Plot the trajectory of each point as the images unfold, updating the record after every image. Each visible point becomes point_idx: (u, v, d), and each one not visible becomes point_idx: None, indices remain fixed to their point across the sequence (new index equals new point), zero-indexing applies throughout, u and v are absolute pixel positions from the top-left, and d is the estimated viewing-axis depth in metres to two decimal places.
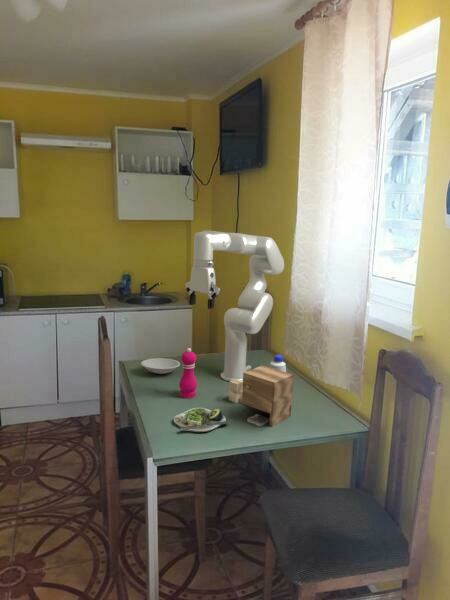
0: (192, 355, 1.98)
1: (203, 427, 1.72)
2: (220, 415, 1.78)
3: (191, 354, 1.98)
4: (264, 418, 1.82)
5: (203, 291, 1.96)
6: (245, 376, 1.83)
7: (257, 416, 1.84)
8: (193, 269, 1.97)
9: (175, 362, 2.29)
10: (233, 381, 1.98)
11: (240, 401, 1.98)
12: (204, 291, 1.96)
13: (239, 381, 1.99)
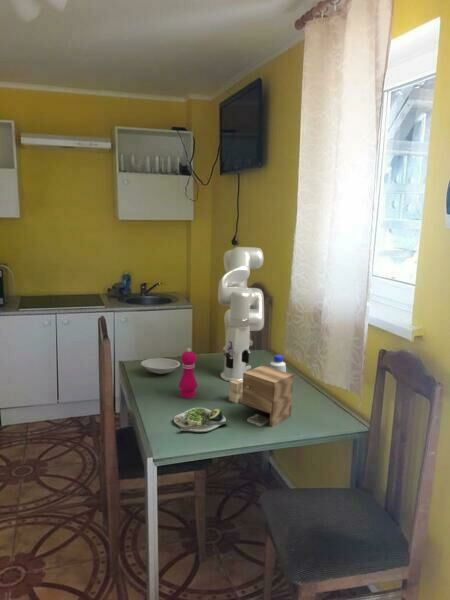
0: (192, 355, 1.98)
1: (203, 427, 1.72)
2: (220, 415, 1.78)
3: (191, 354, 1.98)
4: (264, 418, 1.82)
5: (246, 348, 1.96)
6: (245, 376, 1.83)
7: (257, 416, 1.84)
8: (238, 330, 1.90)
9: (175, 362, 2.29)
10: (233, 381, 1.98)
11: (240, 401, 1.98)
12: (247, 348, 1.96)
13: (239, 381, 1.99)
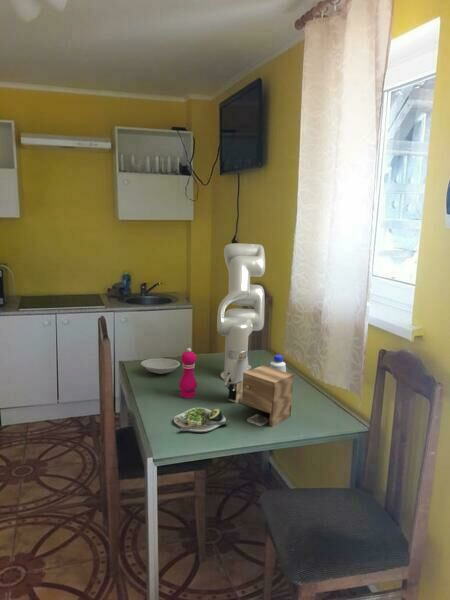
0: (192, 355, 1.98)
1: (203, 427, 1.72)
2: (220, 415, 1.78)
3: (191, 354, 1.98)
4: (264, 418, 1.82)
5: None
6: (245, 376, 1.83)
7: (257, 416, 1.84)
8: (237, 362, 1.93)
9: (175, 362, 2.29)
10: None
11: (240, 401, 1.98)
12: None
13: None
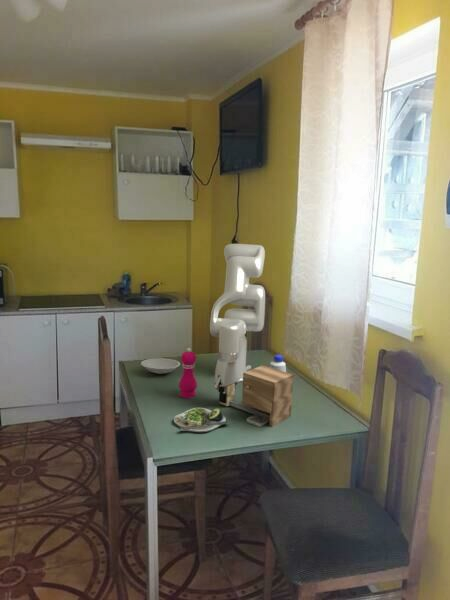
0: (192, 355, 1.98)
1: (203, 427, 1.72)
2: (220, 415, 1.78)
3: (191, 354, 1.98)
4: (264, 418, 1.82)
5: (235, 381, 1.94)
6: (245, 376, 1.83)
7: (257, 416, 1.84)
8: (227, 364, 1.89)
9: (175, 362, 2.29)
10: None
11: (231, 404, 1.93)
12: (236, 380, 1.95)
13: None
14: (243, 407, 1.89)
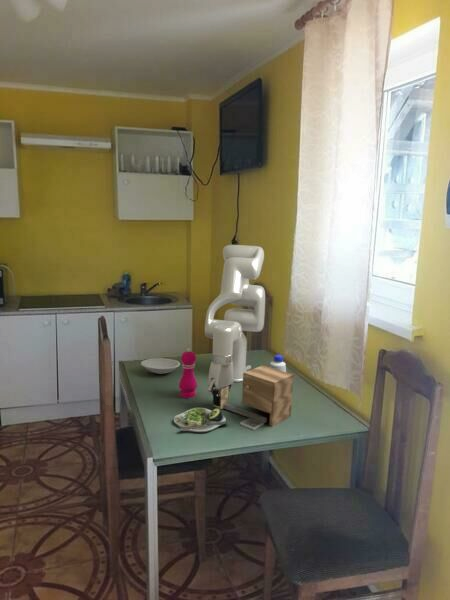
0: (192, 355, 1.98)
1: (203, 427, 1.72)
2: (220, 415, 1.78)
3: (191, 354, 1.98)
4: (258, 421, 1.79)
5: (229, 383, 1.92)
6: (245, 376, 1.83)
7: (251, 419, 1.81)
8: (221, 367, 1.86)
9: (175, 362, 2.29)
10: None
11: (225, 407, 1.91)
12: (230, 383, 1.92)
13: None
14: (237, 410, 1.87)
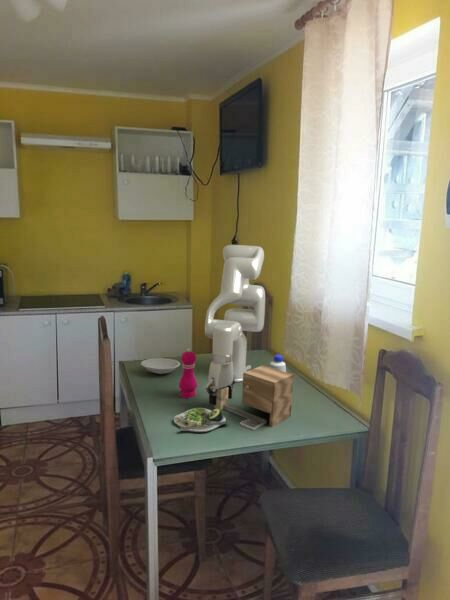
0: (192, 355, 1.98)
1: (203, 427, 1.72)
2: (220, 415, 1.78)
3: (191, 354, 1.98)
4: (257, 421, 1.79)
5: (229, 383, 1.92)
6: (245, 376, 1.83)
7: (250, 419, 1.81)
8: (221, 366, 1.86)
9: (175, 362, 2.29)
10: None
11: (225, 408, 1.91)
12: (230, 383, 1.92)
13: (224, 387, 1.92)
14: (237, 411, 1.87)
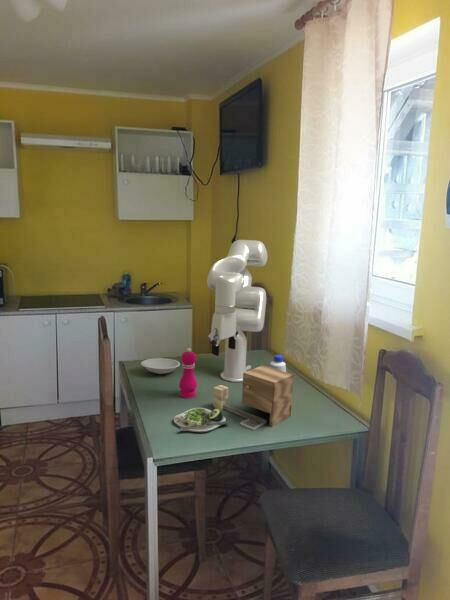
0: (192, 355, 1.98)
1: (203, 427, 1.72)
2: (220, 415, 1.78)
3: (191, 354, 1.98)
4: (257, 421, 1.79)
5: (232, 334, 1.92)
6: (245, 376, 1.83)
7: (250, 419, 1.81)
8: (224, 317, 1.85)
9: (175, 362, 2.29)
10: (217, 387, 1.91)
11: (225, 408, 1.91)
12: (233, 334, 1.92)
13: (224, 387, 1.92)
14: (237, 411, 1.87)
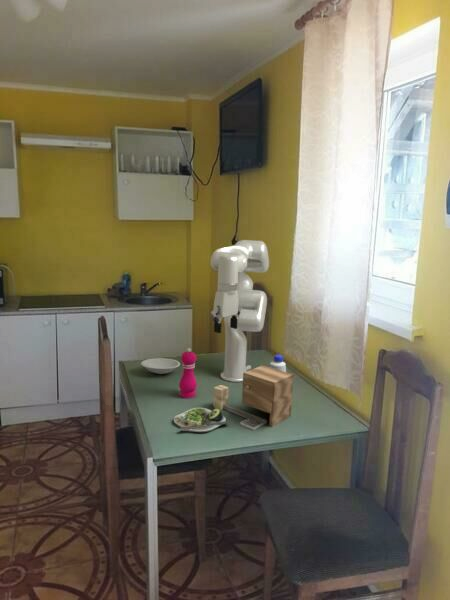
0: (192, 355, 1.98)
1: (203, 427, 1.72)
2: (220, 415, 1.78)
3: (191, 354, 1.98)
4: (257, 421, 1.79)
5: (234, 313, 1.95)
6: (245, 376, 1.83)
7: (250, 419, 1.81)
8: (226, 294, 1.90)
9: (175, 362, 2.29)
10: (217, 387, 1.91)
11: (225, 408, 1.91)
12: (235, 313, 1.96)
13: (224, 387, 1.92)
14: (237, 411, 1.87)
